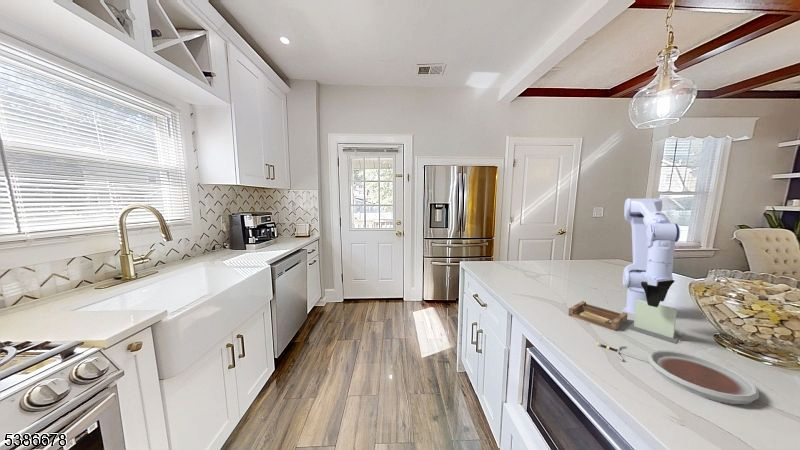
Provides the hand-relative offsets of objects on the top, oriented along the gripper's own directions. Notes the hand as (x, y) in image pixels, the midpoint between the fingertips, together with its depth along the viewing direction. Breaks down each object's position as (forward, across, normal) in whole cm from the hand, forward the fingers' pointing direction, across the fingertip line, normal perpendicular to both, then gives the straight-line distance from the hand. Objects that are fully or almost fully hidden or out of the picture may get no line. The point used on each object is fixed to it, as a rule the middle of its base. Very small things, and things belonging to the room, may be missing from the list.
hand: (655, 303), depth 80 cm
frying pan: (+10, +21, +6) cm, 24 cm away
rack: (+10, +3, -14) cm, 17 cm away
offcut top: (+10, +6, -14) cm, 18 cm away
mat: (+10, 0, 0) cm, 10 cm away
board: (+9, 0, 0) cm, 9 cm away
